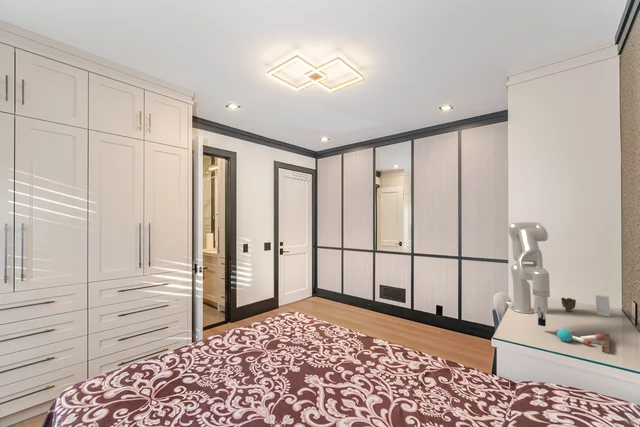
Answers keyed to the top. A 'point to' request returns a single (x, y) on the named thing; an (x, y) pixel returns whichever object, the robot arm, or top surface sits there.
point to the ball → (564, 335)
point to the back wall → (605, 343)
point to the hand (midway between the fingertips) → (541, 325)
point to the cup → (568, 304)
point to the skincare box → (602, 305)
